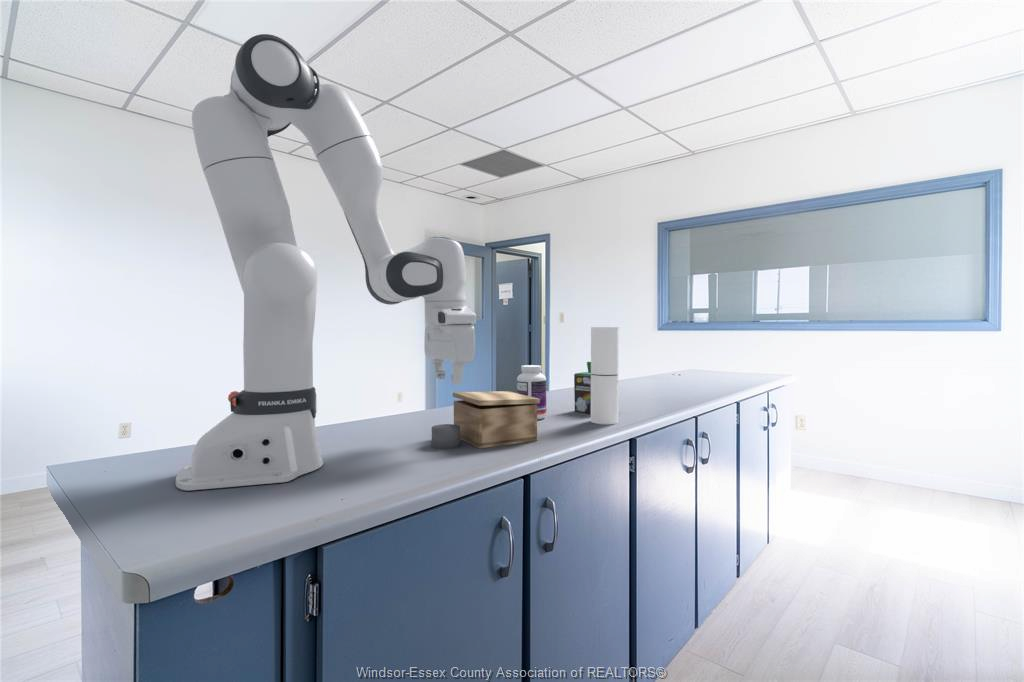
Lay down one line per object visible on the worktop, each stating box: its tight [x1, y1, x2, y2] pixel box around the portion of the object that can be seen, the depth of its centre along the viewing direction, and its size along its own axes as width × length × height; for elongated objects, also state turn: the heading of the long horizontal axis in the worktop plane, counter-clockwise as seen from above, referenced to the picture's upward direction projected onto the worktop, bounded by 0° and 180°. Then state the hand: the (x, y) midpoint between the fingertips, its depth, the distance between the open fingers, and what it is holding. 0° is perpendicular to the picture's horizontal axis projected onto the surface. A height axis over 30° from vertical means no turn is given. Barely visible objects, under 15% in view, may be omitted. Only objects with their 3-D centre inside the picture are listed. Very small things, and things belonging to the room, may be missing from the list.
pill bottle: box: [516, 364, 547, 421], centre depth 135 cm, size 8×8×14 cm
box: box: [453, 399, 538, 449], centre depth 111 cm, size 14×14×8 cm
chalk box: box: [573, 361, 591, 415], centre depth 146 cm, size 9×9×15 cm
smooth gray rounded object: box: [431, 423, 461, 450], centre depth 104 cm, size 6×6×4 cm
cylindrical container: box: [590, 326, 620, 425], centre depth 130 cm, size 7×7×25 cm
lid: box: [452, 390, 540, 406], centre depth 111 cm, size 15×15×1 cm
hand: (448, 381), depth 104 cm, fingers open, 8 cm apart
